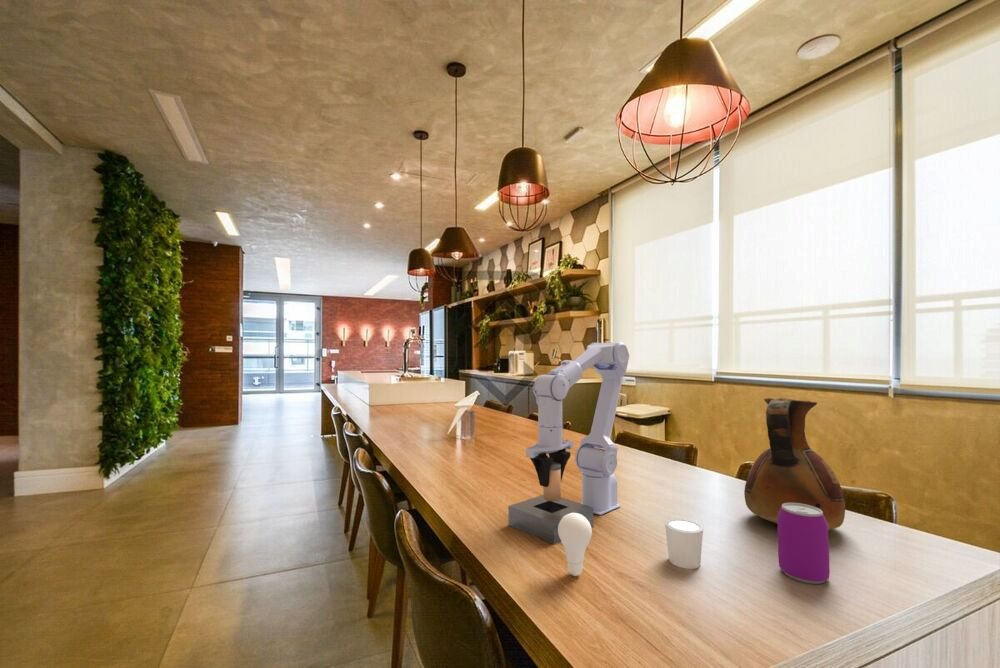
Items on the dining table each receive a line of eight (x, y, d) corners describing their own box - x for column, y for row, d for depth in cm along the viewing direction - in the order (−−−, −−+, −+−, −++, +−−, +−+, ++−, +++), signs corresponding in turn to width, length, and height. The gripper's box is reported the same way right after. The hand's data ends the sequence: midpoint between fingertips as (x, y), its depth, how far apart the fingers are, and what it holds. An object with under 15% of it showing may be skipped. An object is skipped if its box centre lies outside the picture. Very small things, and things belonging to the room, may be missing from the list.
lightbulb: (592, 585, 76) (591, 521, 76) (557, 582, 77) (556, 518, 78) (592, 568, 82) (591, 509, 82) (559, 565, 83) (559, 506, 84)
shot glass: (702, 556, 87) (701, 520, 87) (706, 573, 81) (705, 534, 81) (665, 551, 89) (664, 516, 90) (666, 567, 83) (665, 529, 83)
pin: (554, 494, 105) (554, 460, 105) (563, 499, 101) (564, 464, 102) (540, 496, 103) (540, 462, 103) (549, 502, 100) (549, 466, 100)
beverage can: (777, 561, 85) (776, 498, 86) (826, 571, 81) (824, 505, 82) (779, 579, 78) (777, 510, 79) (833, 590, 75) (830, 519, 75)
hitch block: (548, 511, 112) (547, 493, 112) (593, 527, 102) (593, 507, 102) (508, 525, 103) (508, 505, 103) (554, 544, 92) (553, 522, 93)
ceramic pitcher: (850, 524, 104) (845, 397, 105) (840, 552, 89) (835, 404, 91) (757, 504, 117) (754, 392, 119) (735, 526, 103) (732, 397, 104)
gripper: (557, 420, 111) (557, 474, 111) (516, 426, 101) (516, 486, 101) (579, 423, 106) (580, 480, 105) (539, 430, 96) (539, 493, 96)
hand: (550, 484), depth 103 cm, fingers closed on pin, 4 cm apart
